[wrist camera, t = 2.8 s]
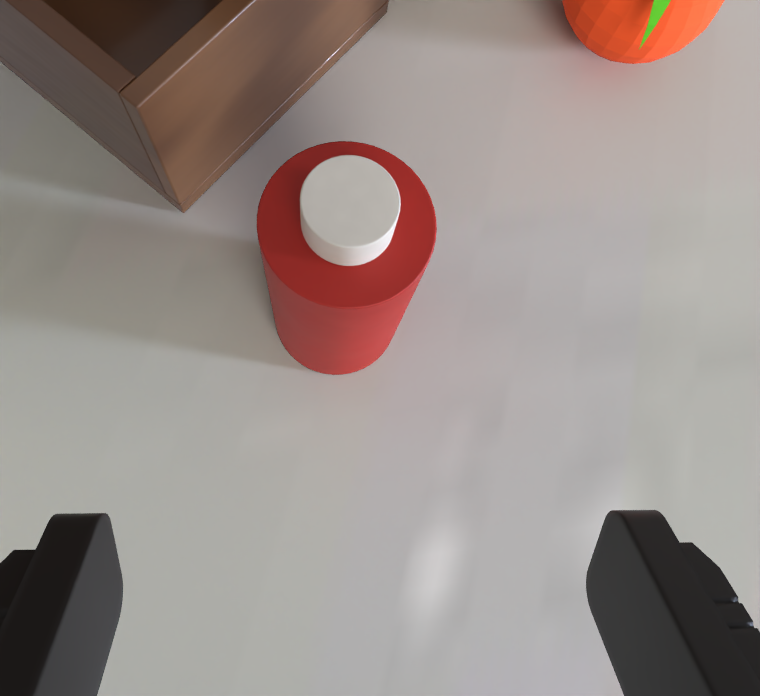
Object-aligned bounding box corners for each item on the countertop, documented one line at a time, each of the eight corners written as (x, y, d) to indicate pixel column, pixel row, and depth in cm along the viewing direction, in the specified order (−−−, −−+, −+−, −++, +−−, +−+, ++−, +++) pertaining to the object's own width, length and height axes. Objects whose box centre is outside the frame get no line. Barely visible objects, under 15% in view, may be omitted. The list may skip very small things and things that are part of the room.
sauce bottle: (343, 399, 27) (363, 333, 17) (249, 321, 28) (210, 206, 17) (419, 310, 28) (484, 193, 18) (329, 235, 29) (339, 77, 18)
